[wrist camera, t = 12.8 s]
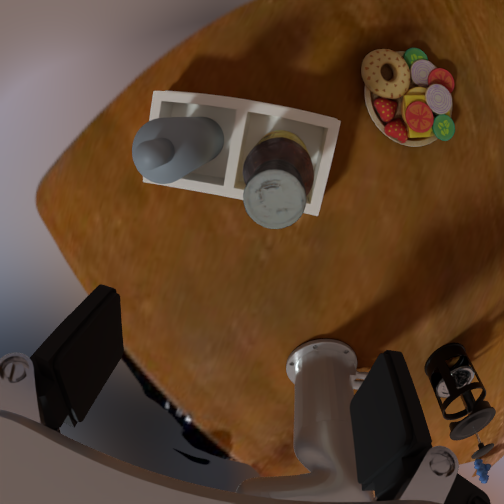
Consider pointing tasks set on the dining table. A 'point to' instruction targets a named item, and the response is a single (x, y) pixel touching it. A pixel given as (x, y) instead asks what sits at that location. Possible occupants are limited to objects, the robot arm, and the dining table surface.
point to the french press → (460, 394)
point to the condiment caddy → (224, 142)
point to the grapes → (482, 470)
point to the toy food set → (408, 96)
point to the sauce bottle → (277, 179)
